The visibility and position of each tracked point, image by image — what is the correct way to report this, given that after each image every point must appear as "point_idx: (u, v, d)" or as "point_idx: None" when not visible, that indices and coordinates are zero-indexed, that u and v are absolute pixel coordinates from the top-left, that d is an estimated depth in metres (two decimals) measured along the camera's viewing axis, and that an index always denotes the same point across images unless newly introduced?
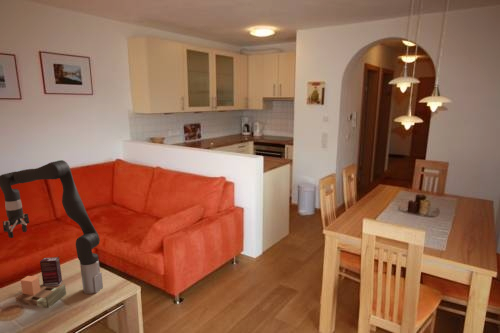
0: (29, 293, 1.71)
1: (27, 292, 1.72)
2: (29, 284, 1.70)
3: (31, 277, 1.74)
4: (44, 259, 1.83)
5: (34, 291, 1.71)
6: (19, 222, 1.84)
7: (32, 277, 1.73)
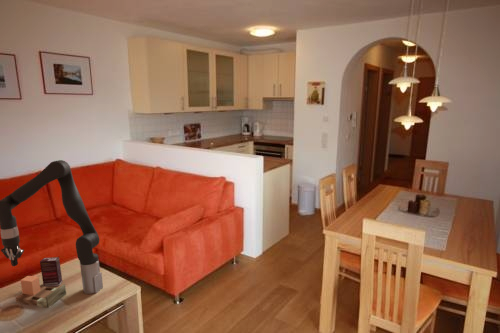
0: (29, 293, 1.71)
1: (27, 292, 1.72)
2: (29, 284, 1.70)
3: (31, 277, 1.74)
4: (44, 259, 1.83)
5: (34, 291, 1.71)
6: None
7: (32, 277, 1.73)
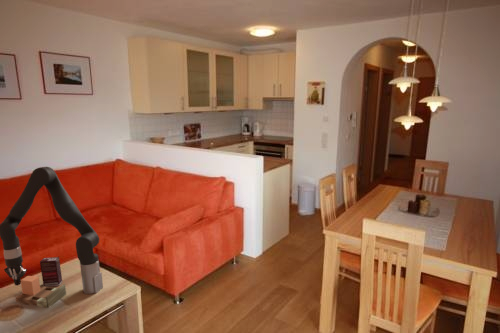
0: (29, 293, 1.71)
1: (27, 292, 1.72)
2: (29, 284, 1.70)
3: (31, 277, 1.74)
4: (44, 259, 1.83)
5: (34, 291, 1.71)
6: None
7: (32, 277, 1.73)
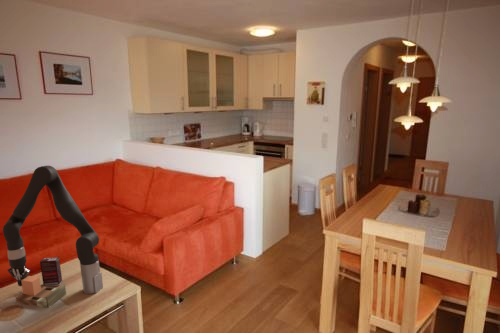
0: (30, 293, 1.71)
1: (28, 292, 1.71)
2: (30, 284, 1.70)
3: (32, 277, 1.73)
4: (44, 259, 1.83)
5: (35, 291, 1.71)
6: None
7: (33, 277, 1.73)
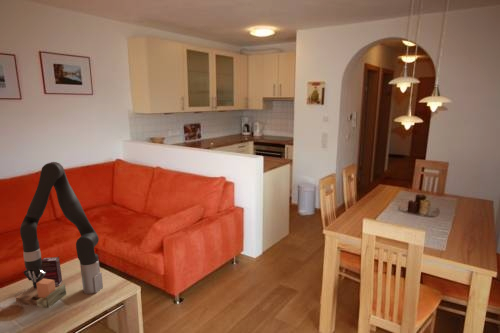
0: (45, 296, 1.69)
1: (43, 295, 1.69)
2: (45, 287, 1.67)
3: (47, 280, 1.71)
4: (44, 259, 1.83)
5: None
6: None
7: (48, 280, 1.71)
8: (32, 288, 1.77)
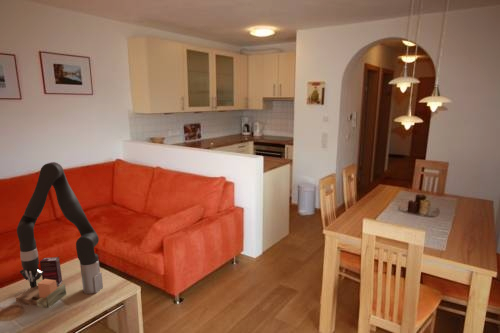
0: None
1: (44, 295, 1.69)
2: (47, 287, 1.67)
3: (48, 280, 1.71)
4: (44, 259, 1.83)
5: None
6: None
7: (49, 280, 1.70)
8: (32, 288, 1.77)
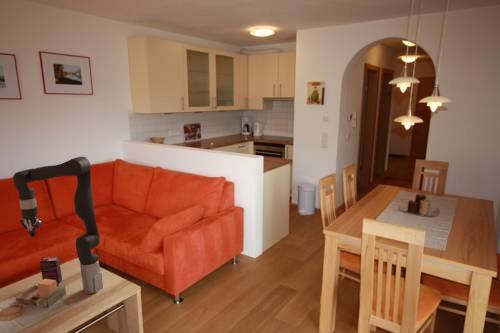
0: None
1: (44, 295, 1.69)
2: (47, 287, 1.67)
3: (48, 280, 1.71)
4: (44, 259, 1.83)
5: None
6: None
7: (49, 280, 1.70)
8: (32, 288, 1.77)
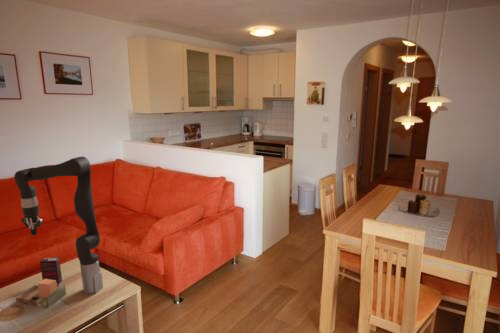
0: None
1: (44, 295, 1.69)
2: (47, 287, 1.67)
3: (48, 280, 1.71)
4: (44, 259, 1.83)
5: None
6: None
7: (49, 280, 1.70)
8: (32, 288, 1.77)
